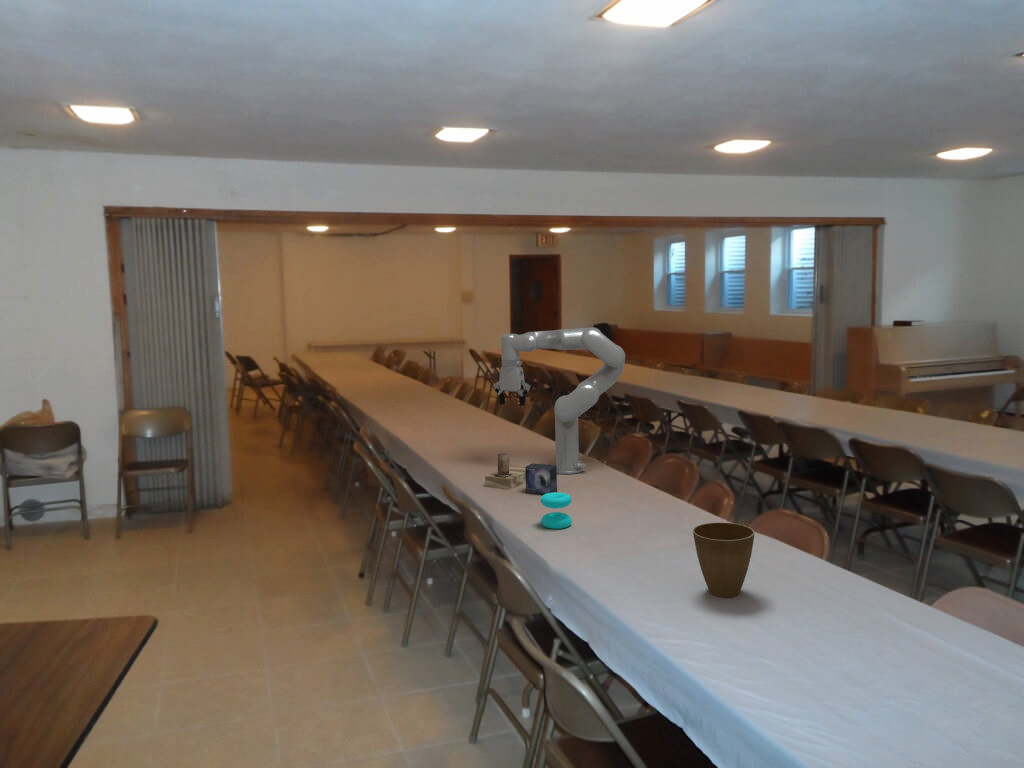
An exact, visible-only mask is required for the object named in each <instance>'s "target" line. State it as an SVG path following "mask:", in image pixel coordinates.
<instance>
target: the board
mask: <svg viewBox="0 0 1024 768" xmlns="http://www.w3.org/2000/svg"><path fill="white" fill-rule="evenodd" d="M525 467H526V466H525ZM525 467H524V466H517V465H511V466H510V465H509V476H508V477H506V478H504V477H498V471H495V472H493V473H489V474H488V475H486V476H484V482H485V483H484V484H485V485H484V486H485V488H493V487H495V488H494V489H501V488H503V489H502V490H509V489H510V490H512V489H513V488H516V487H518V485H519V486H520V485H522V484H526V470H525ZM511 488H512V489H511Z"/></svg>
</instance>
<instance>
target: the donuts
mask: <svg viewBox="0 0 1024 768" xmlns="http://www.w3.org/2000/svg"><path fill="white" fill-rule="evenodd" d="M571 503H572V497H571V495H570V494H569V493H565V492H558V491H557V492H554V493H547V494H544V495H541V497H540V504H541V505H542V506H544V507H545V508H549V509H563V508H565V507H568V506H569V505H570V504H571ZM572 520H573V519H572V517H571V516H570V515H569V514H568V513H565V512H560V511H559V512H558V511H557V512H556V511H555V512H554V511H553V512H549V513H545V514H544V515H543V516H542V517H541V519H540V522H541V526H543V527H544V528H548V529H554V530H559V529H560V530H562V529H565V528H567V527H570V526H571V524H572V523H573V521H572Z"/></svg>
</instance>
